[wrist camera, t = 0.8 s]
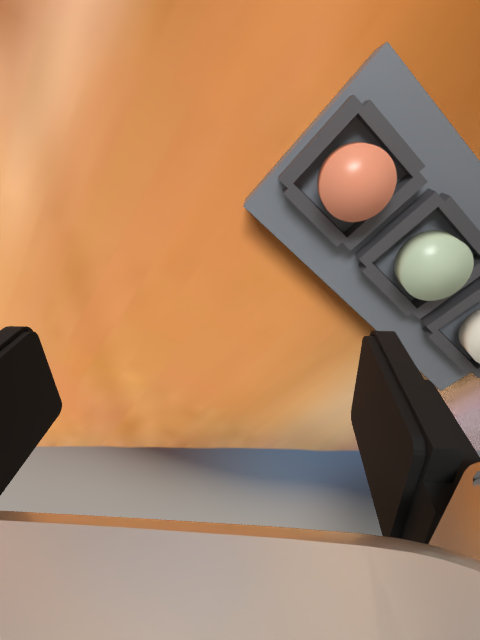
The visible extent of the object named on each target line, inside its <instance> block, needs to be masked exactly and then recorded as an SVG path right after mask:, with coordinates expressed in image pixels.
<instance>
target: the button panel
mask: <svg viewBox="0 0 480 640" xmlns="http://www.w3.org/2000/svg"><path fill="white" fill-rule="evenodd" d="M352 142H363V143H368V144H372V145H375V146H378V147H380V148H382V149H383V150H384V151H386V152H387V153H388V154H389V156H390V157H391V158H392V160H393V162H394V165H395V168H396V173H397V181H396V187H395V190H394V193H393V195H392V197H391V199H390V201H389V202H388V204H387V205H386V206H385V207H384V208H383V209H382V210H381V211H380V212H379V213H378V214H376V215H375V216H373V217H371V218H369V219H367V220H364V221H359V222H347V221H343V220H340V219H338V218H336V217H334V216H333V215H332V214H331V213H329V211H328V210H327V209H326V207H325V206H324V204H323V202H322V201H321V199H320V197H319V194H318V189H317V178H318V174H319V170H320V168H321V166H322V164H323V162H324V161H325V159H326V158H327V157H328V155H329V154H331V153H332V152H333V151H334V150H335V149H337V148H338V147H340V146H342V145H344V144H347V143H352ZM244 207H245V208H246V209H247V210H248V211H249V212H250V213H251V214H252V215H253V216H254V217H255V218H256V219H257V220H259V221H260V222H261V223H262V224H263V225H264V226H265V227H266V228H267V229H268V230H269V231H270V232H271V233H272V234H274V235H275V236H276V237H277V238H278V239H279V240H280V241H281V242H282V243H283V244H284V245H285V246H286V247H287V248H289V249H290V250H291V251H292V252H293V253H294V254H295V255H296V256H297V257H298V258H299V259H300V260H301V261H302V262H304V263H305V264H306V265H307V266H308V267H309V268H310V269H311V270H312V271H313V272H314V273H315V274H316V275H317V276H319V277H320V278H321V279H322V280H323V281H324V282H325V283H326V284H327V285H328V286H329V287H330V288H331V289H332V290H334V291H335V292H336V293H337V294H338V295H339V296H340V297H341V298H342V299H343V300H344V301H345V302H346V303H347V304H349V305H350V306H351V307H352V308H353V309H354V310H355V311H356V312H357V313H358V314H359V315H360V316H361V317H362V318H364V319H365V320H366V321H367V322H368V323H369V324H370V325H371V326H372V327H373V328H374V329H375V330H376V331H395V333H396V334H397V335H398V337H399V339H400V340H401V342H402V344H403V345H404V347H405V349H406V350H407V352H408V354H409V355H410V357H411V359H412V360H413V362H414V364H415V365H416V367H417V369H418V370H419V371H420V372H421V373H422V374H424V375H425V376H426V377H427V378H428V379H429V380H430V381H431V382H432V383H433V384H434V385H435V386H436V387H437V388H439V389H440V390H443V389H445V388H446V387H448V386H450V385H451V384H453V383H454V382H456V381H458V380H459V379H461V378H463V377H464V376H466V375H468V374H469V373H471V372H472V373H473V374H474V375H475V376H476V377H477V378H479V377H480V364H479V363H478V362H476V361H475V360H474V359H473V358H472V357H471V355H470V354H469V353H468V352H467V351H466V349H465V348H464V347H463V346H462V345H461V343H460V341H459V336H458V335H459V329H460V326H461V324H462V323H463V321H464V320H465V319H466V317H467V316H469V315H470V314H471V313H472V312H474V311H475V310H477V309H479V308H480V161H479V160H478V158H477V157H476V156H475V154H474V153H473V152H472V151H471V149H470V148H469V147H468V145H467V144H466V143H465V142H464V140H463V139H462V138H461V136H460V135H459V134H458V132H457V131H456V130H455V129H454V127H453V126H452V125H451V123H450V122H449V121H448V119H447V118H446V117H445V116H444V114H443V113H442V112H441V110H440V109H439V108H438V107H437V105H436V104H435V103H434V101H433V100H432V99H431V97H430V96H429V95H428V94H427V92H426V91H425V90H424V88H423V87H422V86H421V84H420V83H419V82H418V81H417V79H416V78H415V77H414V75H413V74H412V73H411V71H410V70H409V69H408V68H407V66H406V65H405V64H404V62H403V61H402V60H401V59H400V57H399V56H398V55H397V53H396V52H395V51H394V49H393V48H392V47H391V46H390V44H389V43H388V42H386V43H385V44H383V45H382V46H380V47H379V48H377V49H376V50H375V51H374V52H373V53H372V54H371V56H370V57H369V58H368V59H367V60H366V61H365V62H364V64H363V65H362V66H361V67H360V68H359V69H358V71H357V72H356V73H355V74H354V75H353V76H352V77H351V79H350V80H349V81H348V82H347V83H346V84H345V85H344V87H343V88H342V89H341V90H340V91H339V92H338V94H337V95H336V96H335V97H334V98H333V99H332V100H331V102H330V103H329V104H328V105H327V106H326V107H325V108H324V110H323V111H322V112H321V113H320V114H319V115H318V117H317V118H316V119H315V120H314V121H313V122H312V123H311V125H310V126H309V127H308V128H307V129H306V130H305V131H304V133H303V134H302V135H301V136H300V137H299V138H298V140H297V141H296V142H295V143H294V144H293V145H292V146H291V148H290V149H289V150H288V151H287V152H286V153H285V154H284V156H283V157H282V158H281V159H280V160H279V161H278V162H277V164H276V165H275V166H274V167H273V168H272V169H271V171H270V172H269V173H268V174H267V175H266V176H265V177H264V179H263V180H262V181H261V182H260V183H259V184H258V185H257V187H256V188H255V189H254V190H253V191H252V192H251V194H250V195H249V196H248V197H247V198H246V200H245V203H244ZM429 230H440V231H444V232H447V233H449V234H451V235H452V236H454V237H455V238H457V239H459V240H460V241H462V242H463V243H465V244H466V245H467V246H468V247H469V249H470V250H471V252H472V255H473V259H474V266H473V270H472V273H471V275H470V277H469V279H468V281H467V282H466V283H465V284H464V286H463V287H462V288H461V289H459V290H458V291H457V292H455V293H454V294H452V295H450V296H449V297H446V298H443V299H440V300H435V301H425V300H420V299H417V298H415V297H413V296H412V295H410V294H409V293H408V292H407V291H406V289H405V288H404V287H403V286H402V284H401V283H400V282H399V280H398V279H397V277H396V275H395V271H394V261H395V258H396V255H397V253H398V251H399V249H400V248H401V247H402V245H403V244H404V243H405V242H406V241H407V240H409V239H410V238H411V237H413V236H415V235H417V234H419V233H421V232H424V231H429Z"/></svg>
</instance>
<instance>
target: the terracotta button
mask: <svg viewBox="0 0 480 640" xmlns="http://www.w3.org/2000/svg"><path fill="white" fill-rule="evenodd" d="M396 181H397V173H396V168H395V165H394V162H393V160H392V158H391V157H390V156H389V154H388V153H387V152H386V151H384V150H383V149H382V148H380V147H378V146H375V145H372V144H368V143H363V142H352V143H347V144H344V145H342V146H340V147H338V148H337V149H335V150H334V151H333V152H332V153H331V154H329V155H328V157H327V158H326V159H325V161H324V162H323V164H322V166H321V168H320V170H319V174H318V178H317V189H318V194H319V197H320V199H321V201H322V202H323V204H324V206H325V207H326V209H327V210H328V211H329V213H331V214H332V215H333V216H334V217H336V218H338V219H340V220H343V221H347V222H359V221H364V220H367V219H369V218H371V217H373V216H375V215H376V214H378V213H379V212H380V211H381V210H382V209H383V208H384V207H385V206H386V205H387V204H388V202H389V201H390V199H391V197H392V195H393V193H394V190H395V187H396Z"/></svg>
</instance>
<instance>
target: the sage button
mask: <svg viewBox="0 0 480 640" xmlns="http://www.w3.org/2000/svg"><path fill="white" fill-rule="evenodd" d="M473 266H474V259H473V255H472V252H471V250H470V249H469V247H468V246H467V245H466V244H465V243H463V242H462V241H460V240H459V239H457V238H455V237H454V236H452V235H451V234H449V233H447V232H444V231H440V230H429V231H424V232H421V233H419V234H417V235H415V236H413V237H411V238H410V239H409V240H407V241H406V242H405V243H404V244H403V245H402V247H401V248H400V249H399V251H398V253H397V255H396V258H395V261H394V271H395V275H396V277H397V279H398V280H399V282H400V283H401V284H402V286H403V287H404V288H405V289H406V291H407V292H408V293H409V294H410V295H412V296H413V297H415V298H417V299H420V300H425V301H435V300H440V299H443V298H446V297H449V296H450V295H452V294H454V293H455V292H457V291H458V290H459V289H461V288H462V287H463V286H464V284H465V283H466V282H467V281H468V279H469V277H470V275H471V273H472V270H473Z"/></svg>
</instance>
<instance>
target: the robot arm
mask: <svg viewBox="0 0 480 640" xmlns="http://www.w3.org/2000/svg"><path fill="white" fill-rule="evenodd" d="M61 408H62V402H61V399H60V396H59V393H58V390H57V388H56V385H55V382H54V379H53V376H52V373H51V370H50V368H49V365H48V362H47V359H46V356H45V353H44V351H43V348H42V345H41V342H40V339H39V337H38V335H37V333H36V332H33V330H32V329H31V328H29V327H13V326H9V327H5V328H3V329H2V330H1V331H0V495H1V494H2V492H3V491H4V490H5V488H6V487H7V485H8V484H9V483H10V481H11V480H12V479H13V477H14V476H15V475H16V473H17V472H18V470H19V469H20V468H21V466H22V465H23V464H24V462H25V461H26V459H27V458H28V457H29V455H30V454H31V452H32V451H33V450H34V448H35V447H36V446H37V444H38V443H39V442H40V440H41V439H42V437H43V436H44V435H45V433H46V432H47V431H48V429H49V428H50V426H51V425H52V424H53V422H54V421H55V420H56V418H57V417H58V415H59V414H60V412H61ZM351 420H352V425H353V429H354V433H355V436H356V440H357V444H358V447H359V451H360V455H361V458H362V462H363V465H364V469H365V473H366V476H367V480H368V484H369V487H370V491H371V495H372V498H373V502H374V506H375V509H376V513H377V517H378V520H379V524H380V528H381V531H382V535H383V536H376V535H368V534H360V533H349V532H337V531H324V530H311V529H299V528H285V527H272V526H256V525H239V524H223V523H206V522H191V521H175V520H157V519H139V518H123V517H106V516H87V515H70V514H52V513H33V512H14V511H0V640H480V457H479V456H478V454H477V452H476V451H475V449H474V448H473V446H472V444H471V443H470V441H469V440H468V438H467V436H466V435H465V433H464V432H463V430H462V428H461V427H460V425H459V424H458V422H457V421H456V419H455V417H454V416H453V414H452V413H451V411H450V409H449V408H448V406H447V405H446V403H445V401H444V400H443V398H442V397H441V395H440V394H439V392H438V390H437V389H436V387H435V386H434V384H433V383H432V382H431V381H429V380H424V379H423V377H422V375H421V374H420V372H419V370H418V369H417V367H416V365H415V364H414V362H413V360H412V359H411V357H410V355H409V354H408V352H407V350H406V349H405V347H404V345H403V344H402V342H401V340H400V339H399V337H398V335H397V334H396V333H395V331H372V332H371V334H370V336H364V338H363V341H362V347H361V353H360V359H359V366H358V372H357V378H356V384H355V391H354V397H353V403H352V409H351Z"/></svg>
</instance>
